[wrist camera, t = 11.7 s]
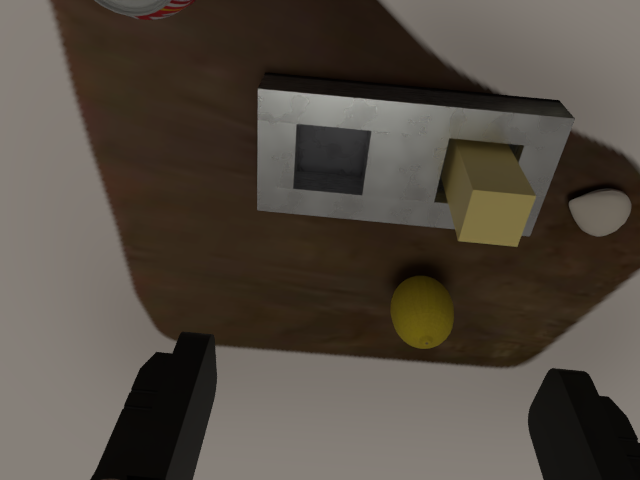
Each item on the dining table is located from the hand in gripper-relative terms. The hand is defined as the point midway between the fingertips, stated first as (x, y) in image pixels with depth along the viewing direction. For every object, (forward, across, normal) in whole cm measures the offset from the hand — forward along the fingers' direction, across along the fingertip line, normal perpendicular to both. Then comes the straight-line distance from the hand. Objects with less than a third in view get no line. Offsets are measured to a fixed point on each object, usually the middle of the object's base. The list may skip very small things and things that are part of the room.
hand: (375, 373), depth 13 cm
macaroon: (+30, -21, +12) cm, 39 cm away
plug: (+30, -10, +8) cm, 32 cm away
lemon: (+30, -8, +22) cm, 38 cm away
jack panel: (+30, -4, +8) cm, 31 cm away
